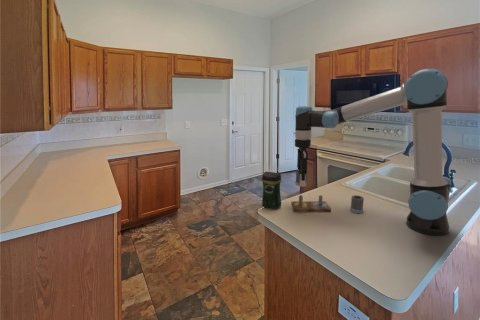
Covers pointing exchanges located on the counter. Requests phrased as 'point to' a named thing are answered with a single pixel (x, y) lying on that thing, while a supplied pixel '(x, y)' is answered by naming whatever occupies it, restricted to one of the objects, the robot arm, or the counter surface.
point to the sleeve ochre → (299, 178)
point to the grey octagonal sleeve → (357, 204)
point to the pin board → (310, 205)
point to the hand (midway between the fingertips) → (301, 184)
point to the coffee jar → (271, 190)
